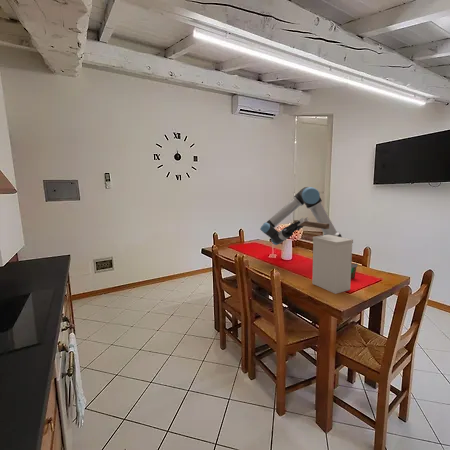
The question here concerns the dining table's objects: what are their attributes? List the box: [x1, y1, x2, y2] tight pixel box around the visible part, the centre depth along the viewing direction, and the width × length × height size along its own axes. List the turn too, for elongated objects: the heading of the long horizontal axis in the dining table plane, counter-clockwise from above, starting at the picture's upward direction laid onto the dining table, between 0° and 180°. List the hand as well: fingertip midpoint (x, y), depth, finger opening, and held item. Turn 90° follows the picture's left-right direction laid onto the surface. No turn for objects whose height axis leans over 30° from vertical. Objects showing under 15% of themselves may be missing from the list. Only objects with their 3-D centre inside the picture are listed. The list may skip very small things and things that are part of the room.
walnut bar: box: [293, 219, 329, 230], centre depth 171 cm, size 3×28×3 cm, turn 26°
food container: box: [351, 263, 358, 280], centre depth 176 cm, size 12×6×10 cm, turn 36°
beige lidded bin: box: [311, 234, 354, 295], centre depth 159 cm, size 13×18×30 cm
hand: (305, 219), depth 174 cm, fingers closed on walnut bar, 3 cm apart
